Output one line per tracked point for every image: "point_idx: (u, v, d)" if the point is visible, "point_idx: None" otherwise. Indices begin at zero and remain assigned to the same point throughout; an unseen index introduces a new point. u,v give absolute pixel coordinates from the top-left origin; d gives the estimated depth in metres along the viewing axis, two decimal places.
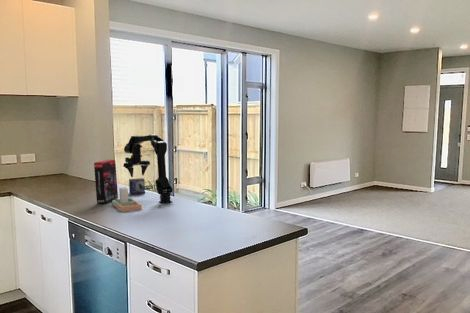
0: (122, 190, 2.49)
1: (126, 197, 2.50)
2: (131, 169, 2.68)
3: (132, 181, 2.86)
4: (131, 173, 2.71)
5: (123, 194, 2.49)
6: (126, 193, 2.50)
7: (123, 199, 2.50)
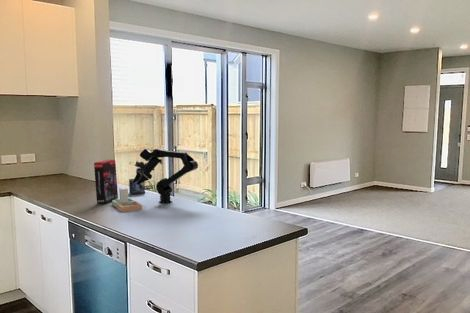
0: (122, 190, 2.49)
1: (126, 197, 2.50)
2: (146, 180, 2.52)
3: (132, 181, 2.86)
4: (141, 182, 2.51)
5: (123, 194, 2.49)
6: (126, 193, 2.50)
7: (123, 199, 2.50)
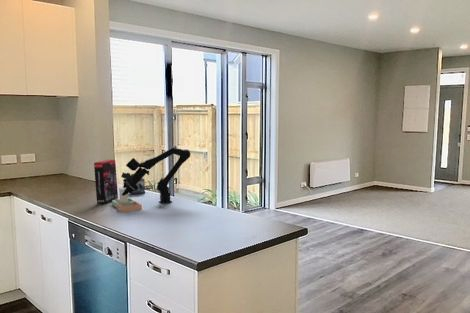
0: (122, 190, 2.49)
1: (126, 197, 2.50)
2: (132, 191, 2.50)
3: None
4: (127, 193, 2.49)
5: None
6: None
7: (123, 199, 2.50)
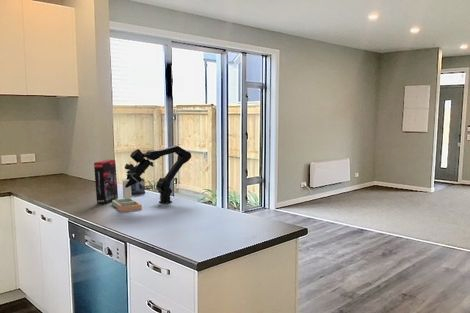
0: (125, 182, 2.41)
1: (129, 189, 2.43)
2: None
3: None
4: (130, 185, 2.41)
5: None
6: None
7: (126, 191, 2.42)
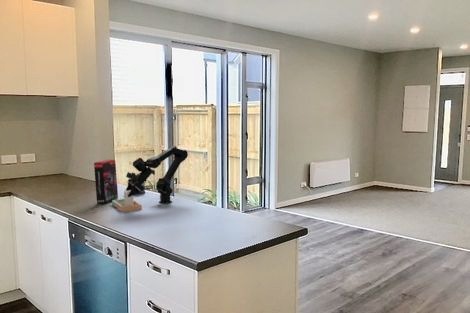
0: (127, 193, 2.39)
1: (131, 200, 2.41)
2: (138, 192, 2.39)
3: None
4: (132, 194, 2.38)
5: (128, 197, 2.40)
6: (131, 196, 2.41)
7: (128, 202, 2.40)
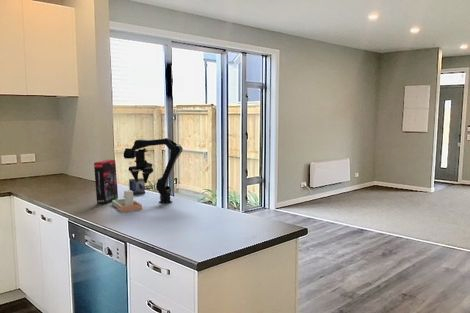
0: (127, 193, 2.39)
1: (131, 200, 2.41)
2: (131, 173, 2.62)
3: (132, 181, 2.86)
4: None
5: (128, 197, 2.40)
6: (131, 196, 2.41)
7: (128, 202, 2.40)
